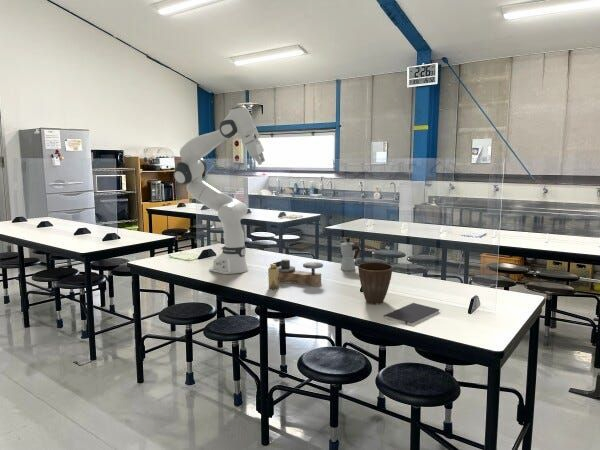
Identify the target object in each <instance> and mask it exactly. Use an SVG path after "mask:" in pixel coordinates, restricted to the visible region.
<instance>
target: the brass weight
mask: <svg viewBox="0 0 600 450" xmlns="http://www.w3.org/2000/svg"><path fill="white" fill-rule="evenodd" d="M277 267H278V266H277V263H271V264H270V267H269V268H267V273H268V289H269V290H270V289H272V290H273V291H274V290H275V289H276V290H279V289H280V281H279V268H277ZM272 290H271V291H272Z"/></svg>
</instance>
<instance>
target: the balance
mask: <svg viewBox="0 0 600 450" xmlns="http://www.w3.org/2000/svg"><path fill="white" fill-rule="evenodd" d="M290 261H291V260H290V259H281V260H280V263H281V265H279V266H276V267H277V268H279V282H283V283H291V284H298V285H306V286H312V287H317V286H319V285H321V284H322V273H321V272H320V273H318V272H316V269H321V268H323V267H324V263H322V262H315V261H314V262H313V261H311V262H310V261H309V262H305V263H303V264H302V267H303V268H305V269H310V270H311V271H305V270H304V271H303V270H296V267H295V266H293V265H291V263H290Z"/></svg>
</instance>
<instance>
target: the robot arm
mask: <svg viewBox="0 0 600 450" xmlns="http://www.w3.org/2000/svg"><path fill="white" fill-rule="evenodd" d="M238 136H239V137H240V139H241V142H242V145H244V147H245V148H246V151H247V152H248V155H249V156H250V158H252V159H253V158H254V159H255V161H256V162H257V165H258V166H260V165H262V164H263V163H264V162H265V161H266V160H265V156H264V153H263V152H265V151H264V150H265V149H264V147H263V144H262V143H261V141H260V139H259V138H260V137H261V136H260V134H259V132H258V129H257V127H256V125H255V124H254V120H253V117H252V115H251V113H250V111H249V110H248V108H247V106H246V105H238V106H235V107H232V108H230V109H229V113H228V114H227V115H226V117H225V118H224V119H223V120H222V121H221V122H220V124H219V129H217V130H215V131H212V132H209V133H208V132H207V133H204V134H201V135H198V136H195V137H194V138H192V139H190V140H189V141H187V142H186V143H185V144H183V146H182V147H181V148H180V149H179V156H180V158H181V161H179V162H177V164H176V167H175V169H174V170H173V179H174V180H175V182H176V183H177V184H179V185H182V186H183V185H186V191H187V193H188V194H189V195H190V196H191V197H192V198H194V199H195V200H196V201H198V202H199V203H201V204H203V206H205V207H207V208H208V209H210V210H212V211H215V212H217V217H218V220H220V222H221V223H220V224H221V226H222V230H223V239H224V241H223V242H224V245H223V246H222V247H221V248H220V250H222V252H221V253H220V254H218V256H216V257H215V258H214V259H213V263H212V266H210V267H209V268H208V270H209V272H215V273H218V274H223V275H229V274H240V273H241V274H242V273H246V272H248V271H249V268H248V267H249V266H248V265H247V259H246V245H245V232H244V230H243V227H242V223H241V220H242V219H244V218H245V217H246V215H247V214H248V211H249V209H248V206H247V205H246V203H244V202H243V201H242V200H241V201H240V200H238V199H236V198H234V197H232V196H230V195H228V194H225V193H223V192H222V191H220V190H218V189H217V188H215V187H213V186H212V185H210V184H209V183H207V182H206V181H205V180H204V178H205V177H206V173H207V168H208V167H207V161H206V160H205V159H204V157H206V156H207V155H209V154H210V153H212V151H213V150H214V149H215V148H217V147H219V145H220V144H222V142H225V141H226V140H229V139H232V138H235V137H238Z"/></svg>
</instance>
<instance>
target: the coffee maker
mask: <svg viewBox="0 0 600 450" xmlns="http://www.w3.org/2000/svg"><path fill="white" fill-rule="evenodd" d="M345 240H346V241H345V242H342V243H339V245H340V251H341V252H340V253H341V256H342V258H341V264H340V271H345V272H354V271H356V265H355V259H357V257H358V255H359V253H360V251H361V248H360V246H359V245H358V244H356V243H354V242H351V238H350V237H345Z"/></svg>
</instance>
